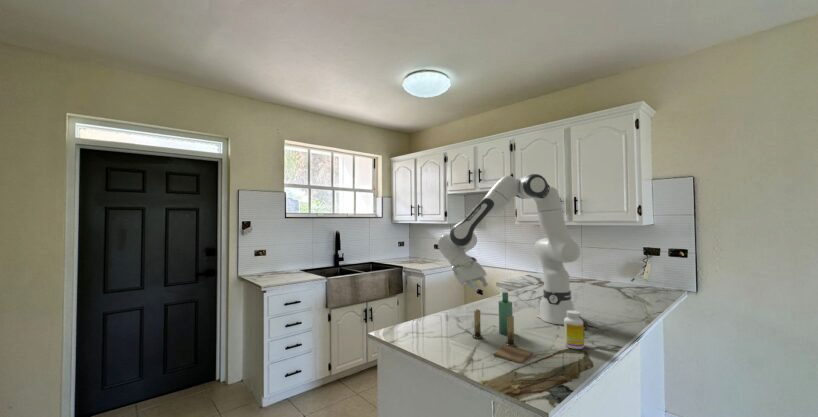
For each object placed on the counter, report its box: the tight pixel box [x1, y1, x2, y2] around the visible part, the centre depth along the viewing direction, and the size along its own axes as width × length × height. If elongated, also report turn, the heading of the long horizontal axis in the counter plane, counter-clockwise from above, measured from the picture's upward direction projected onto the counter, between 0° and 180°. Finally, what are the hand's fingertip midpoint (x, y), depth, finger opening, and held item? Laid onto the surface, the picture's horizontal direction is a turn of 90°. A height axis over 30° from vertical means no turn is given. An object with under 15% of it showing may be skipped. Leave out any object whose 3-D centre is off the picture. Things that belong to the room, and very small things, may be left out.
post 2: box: [504, 315, 517, 348], centre depth 126 cm, size 4×4×11 cm
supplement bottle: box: [563, 310, 585, 350], centre depth 125 cm, size 7×7×13 cm
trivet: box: [493, 345, 533, 364], centre depth 117 cm, size 10×10×1 cm
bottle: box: [498, 291, 514, 336], centre depth 140 cm, size 6×6×17 cm
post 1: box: [472, 308, 483, 340], centre depth 135 cm, size 4×4×11 cm
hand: (481, 287), depth 147 cm, fingers open, 8 cm apart
